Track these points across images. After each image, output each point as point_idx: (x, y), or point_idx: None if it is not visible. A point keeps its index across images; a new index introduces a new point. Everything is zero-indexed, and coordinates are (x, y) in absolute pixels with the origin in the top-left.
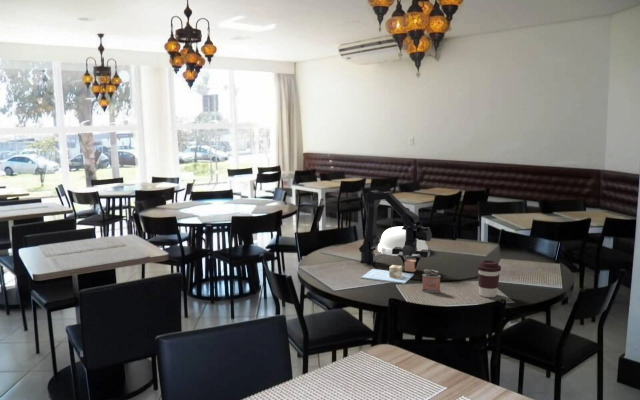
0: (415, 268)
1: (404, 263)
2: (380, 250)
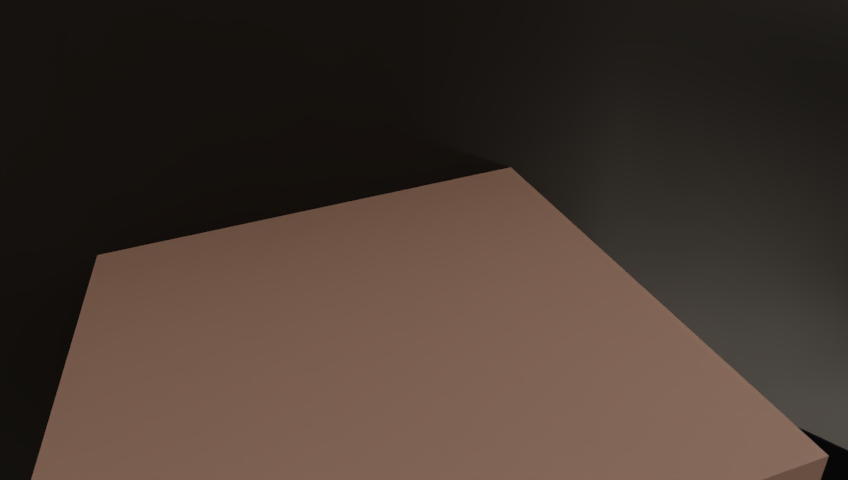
0: None
1: None
2: None
